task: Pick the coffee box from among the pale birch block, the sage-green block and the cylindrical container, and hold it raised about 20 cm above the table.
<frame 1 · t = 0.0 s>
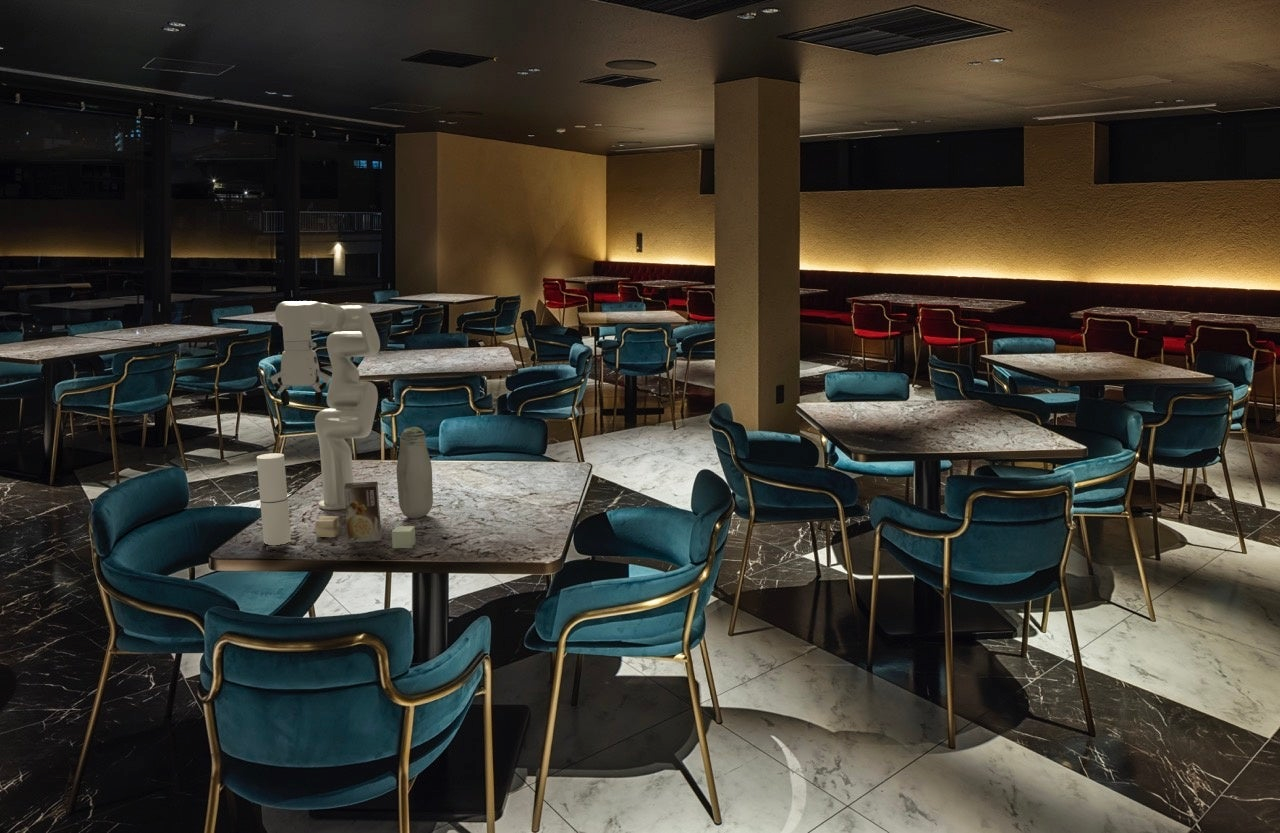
hand: (302, 405, 273), 37 cm above the table, tool pointing down, fingers open, 9 cm apart
birch block: (328, 535, 271), on the table
coffee box: (365, 539, 267), on the table
cylindrical container: (277, 543, 265), on the table
sage block: (404, 546, 260), on the table
grey bottle: (417, 517, 288), on the table
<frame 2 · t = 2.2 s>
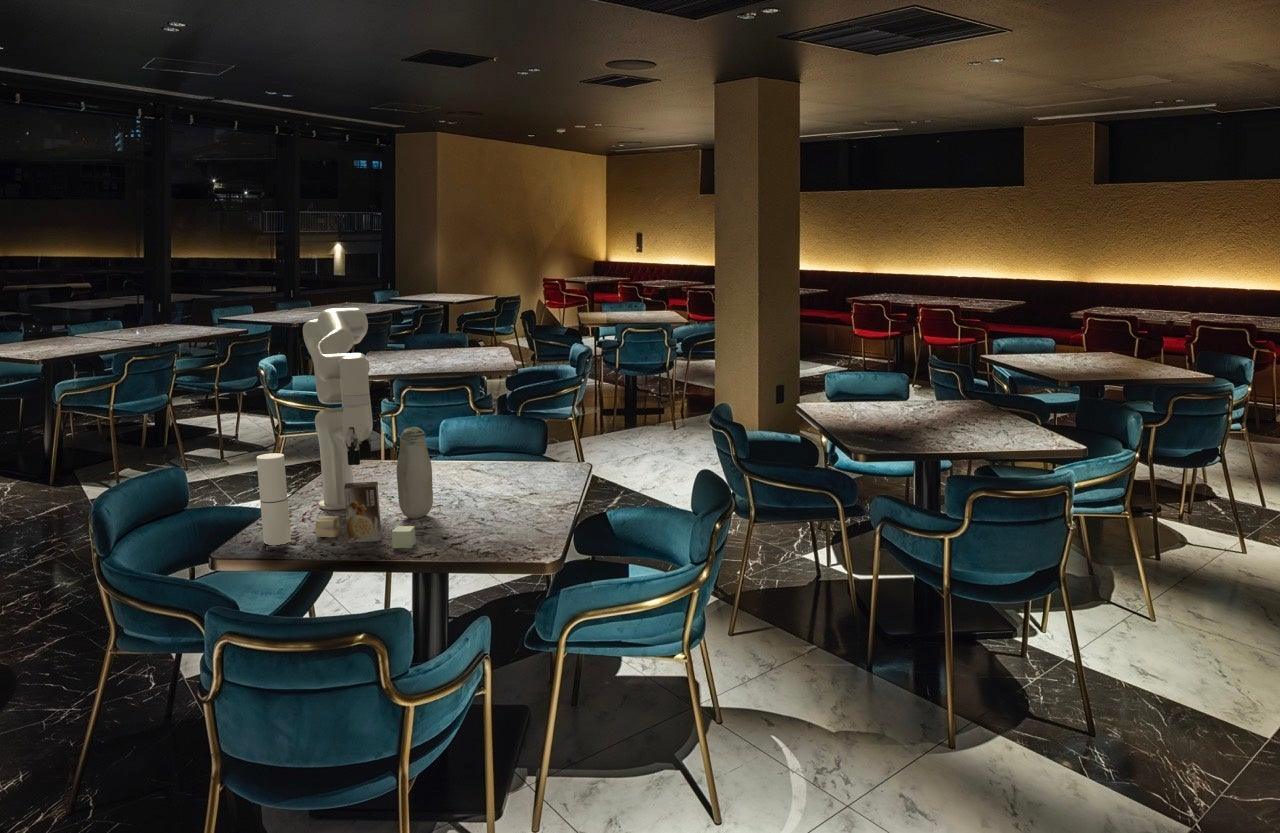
hand: (360, 461, 262), 23 cm above the table, tool pointing down, fingers open, 9 cm apart
nothing on the table moved.
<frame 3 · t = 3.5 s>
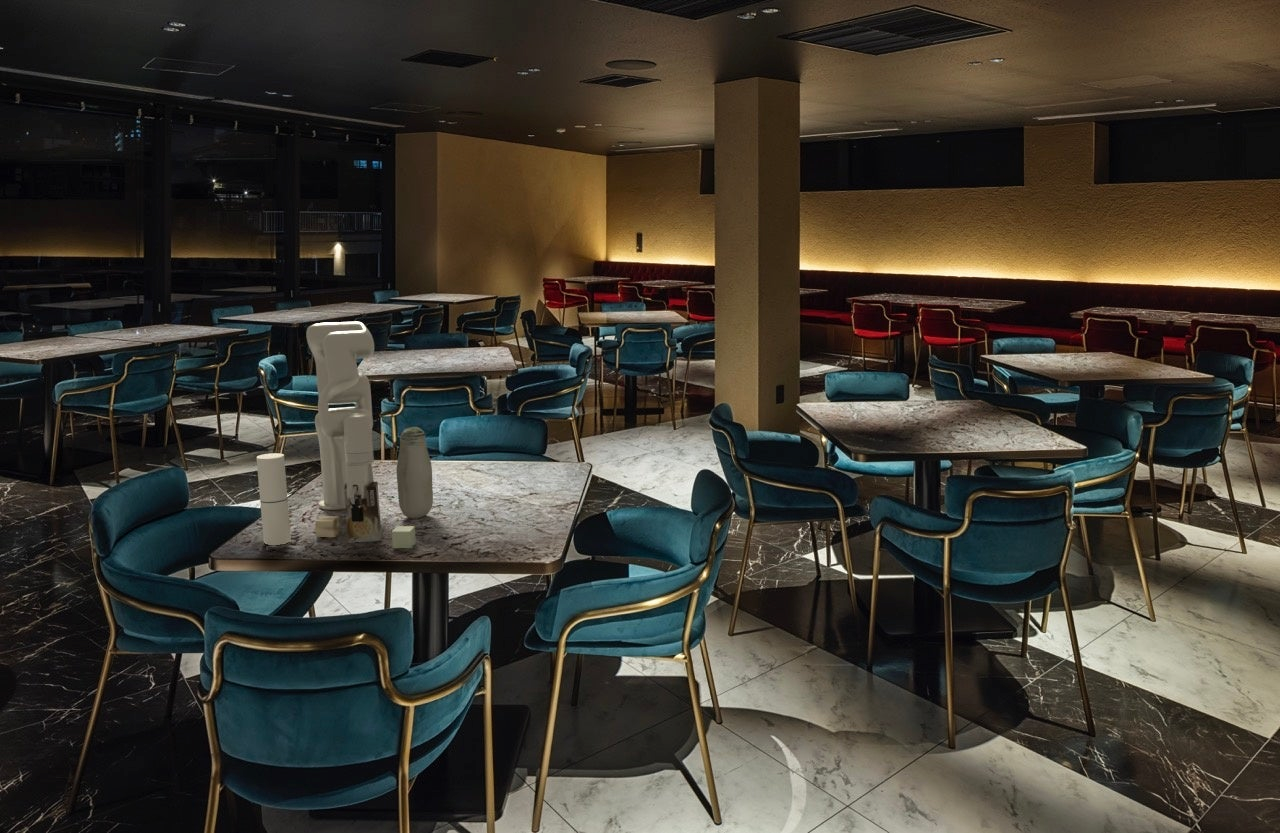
hand: (363, 516, 265), 7 cm above the table, tool pointing down, fingers open, 9 cm apart
nothing on the table moved.
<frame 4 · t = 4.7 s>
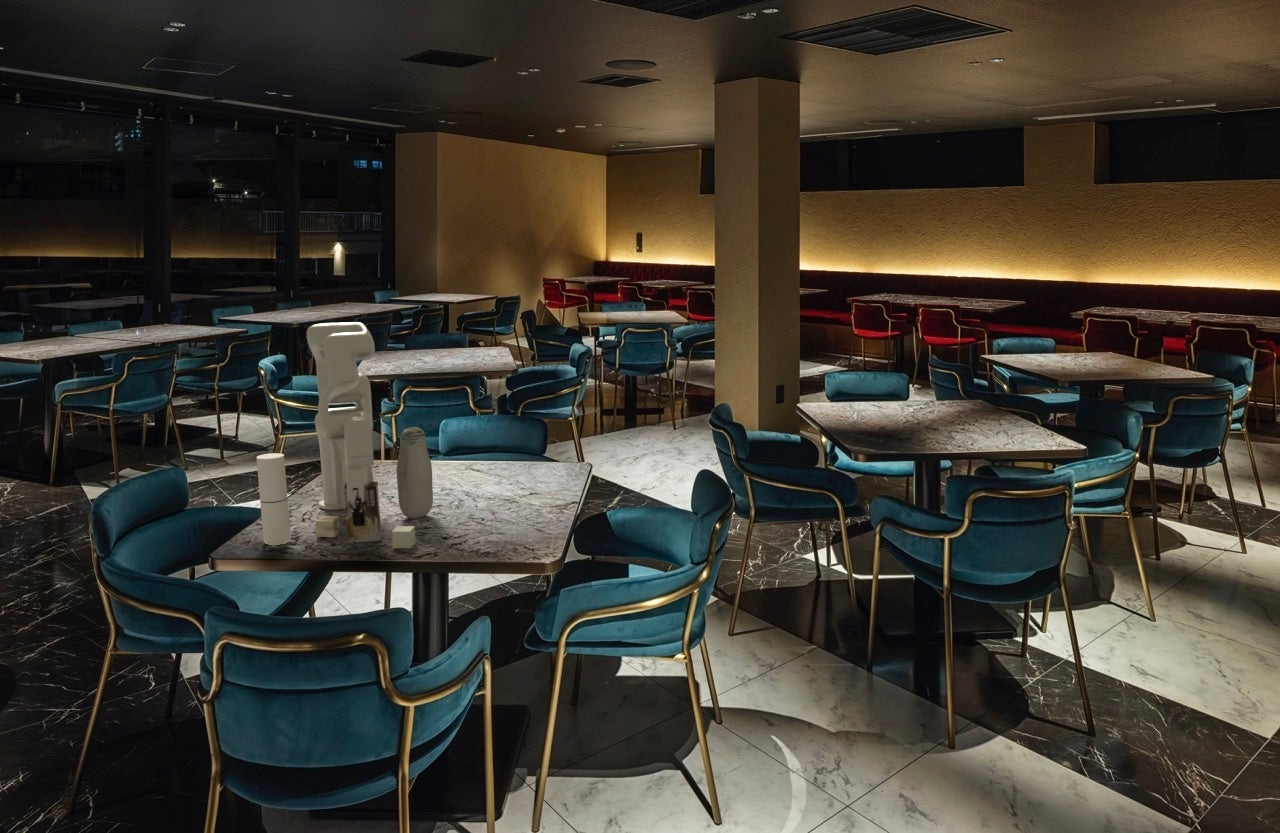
hand: (363, 521, 266), 5 cm above the table, tool pointing down, fingers closed on coffee box, 7 cm apart
coffee box: (365, 539, 267), on the table, touching gripper
everything else where it was.
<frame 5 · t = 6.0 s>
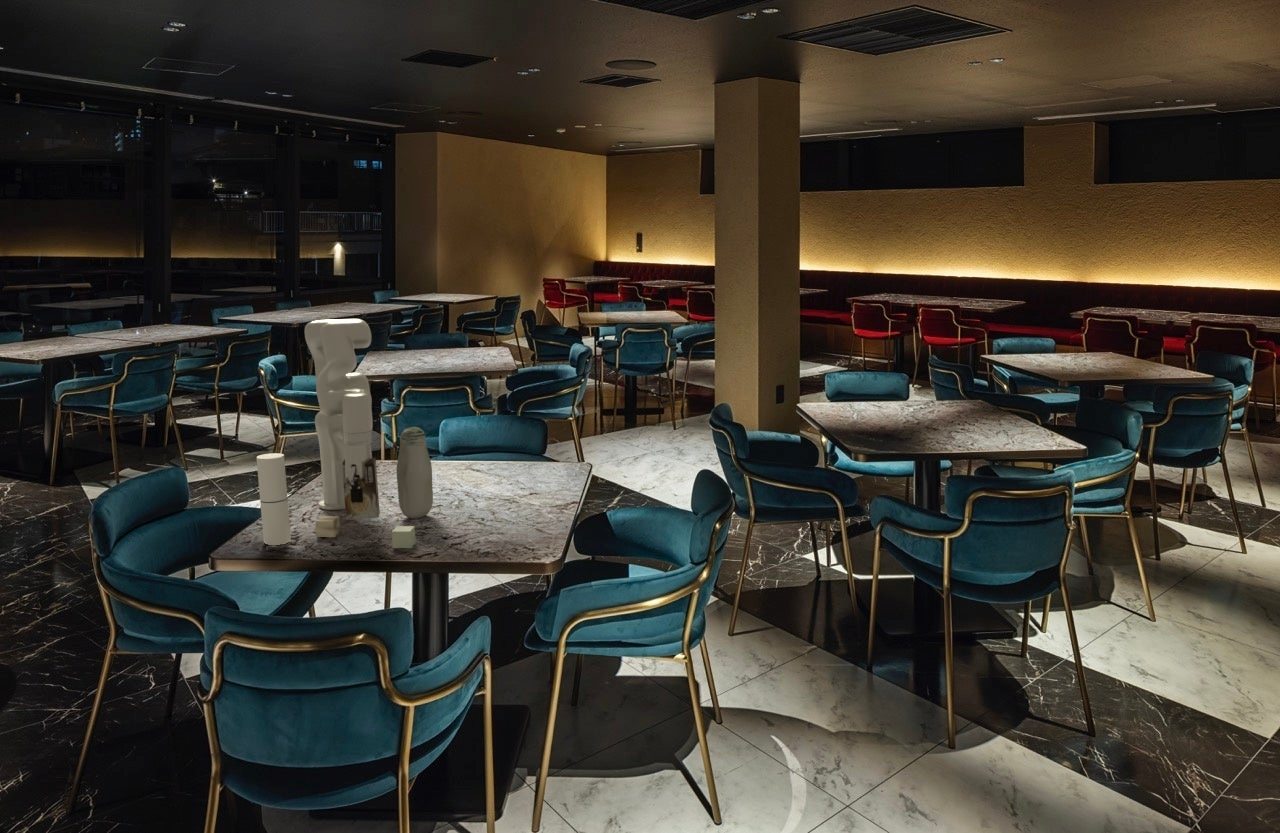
hand: (361, 497, 265), 12 cm above the table, tool pointing down, fingers closed on coffee box, 7 cm apart
coffee box: (362, 516, 266), point 6 cm above the table, touching gripper
everything else where it was.
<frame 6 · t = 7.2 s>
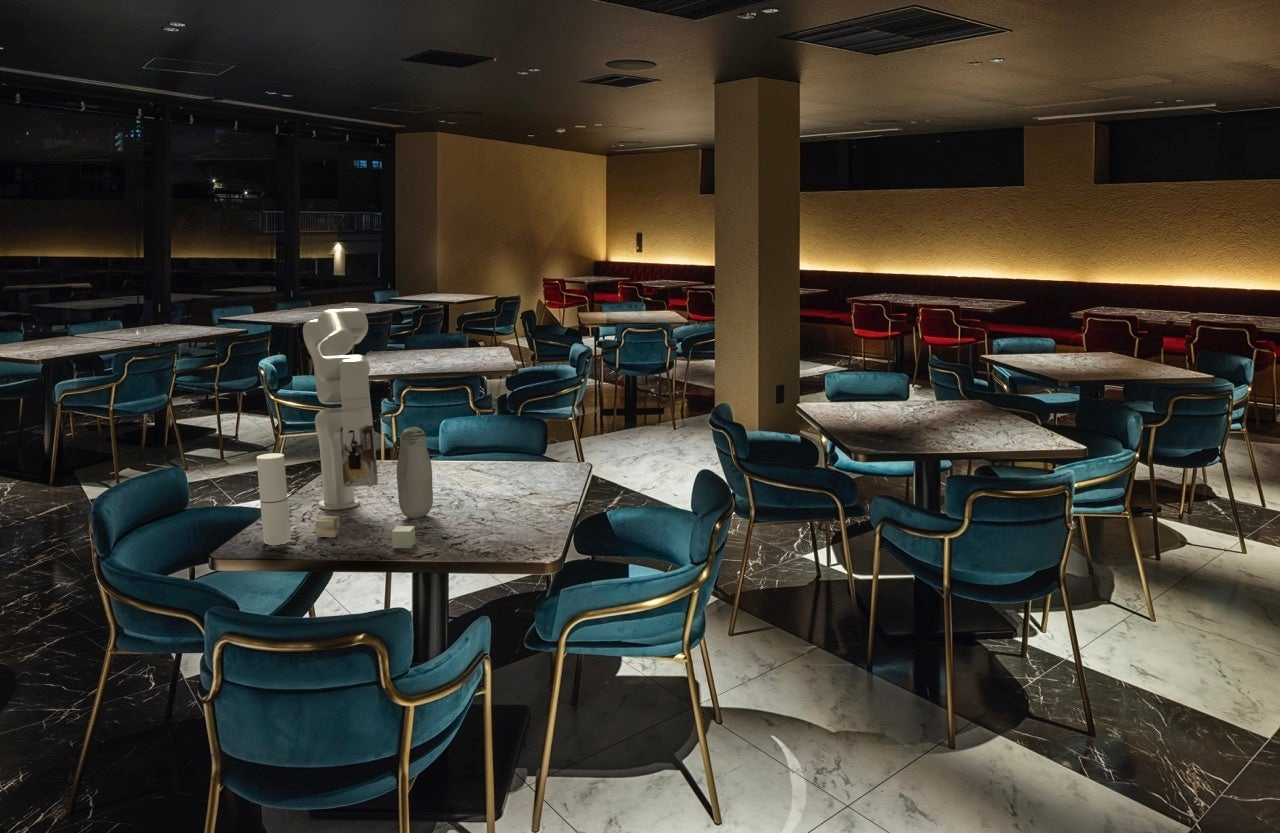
hand: (359, 464, 263), 22 cm above the table, tool pointing down, fingers closed on coffee box, 7 cm apart
coffee box: (360, 484, 265), point 16 cm above the table, touching gripper
everything else where it was.
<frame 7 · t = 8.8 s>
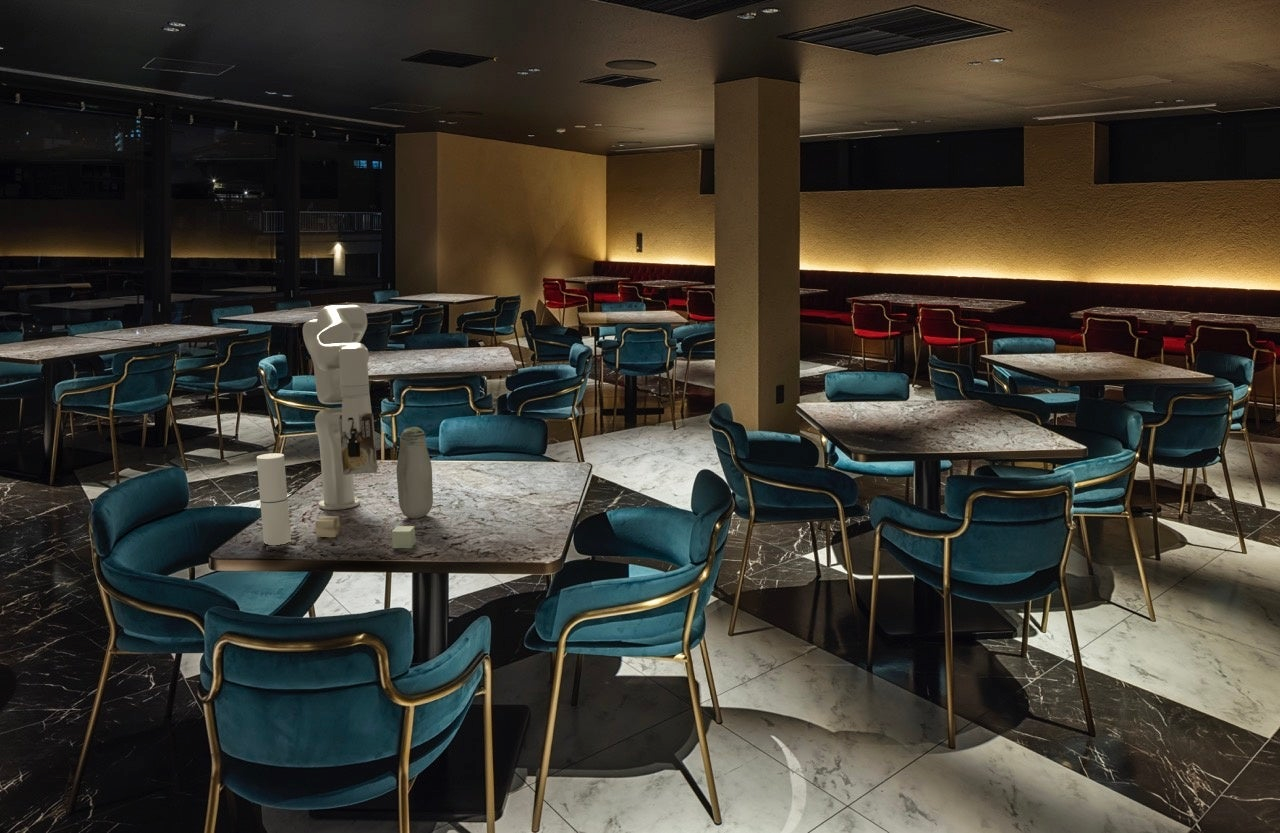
hand: (359, 452, 263), 25 cm above the table, tool pointing down, fingers closed on coffee box, 7 cm apart
coffee box: (360, 472, 264), point 20 cm above the table, touching gripper
everything else where it was.
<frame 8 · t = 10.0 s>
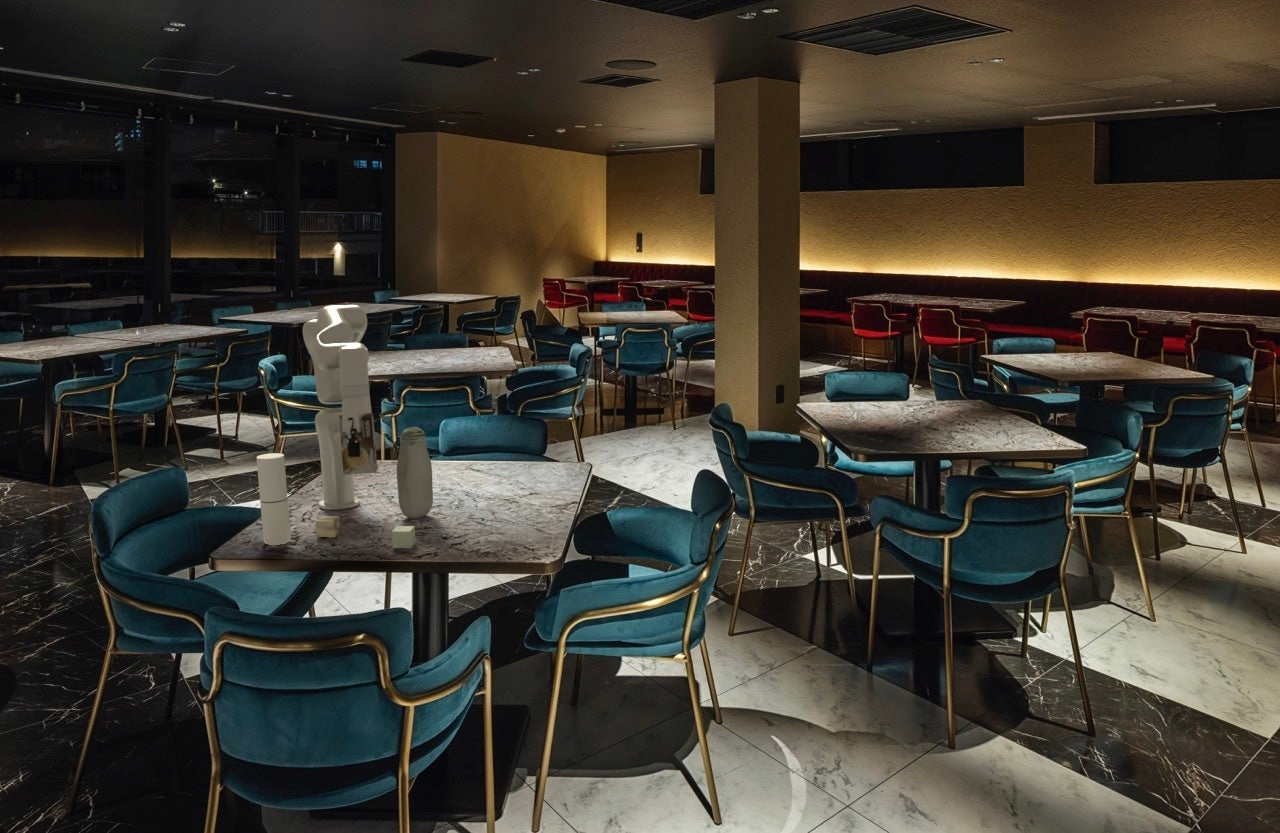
hand: (359, 452, 263), 25 cm above the table, tool pointing down, fingers closed on coffee box, 7 cm apart
coffee box: (360, 472, 264), point 20 cm above the table, touching gripper
everything else where it was.
at the end: the gripper is holding coffee box; coffee box point 19.5 cm above the table; sage block moved 0.1 cm from its start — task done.
